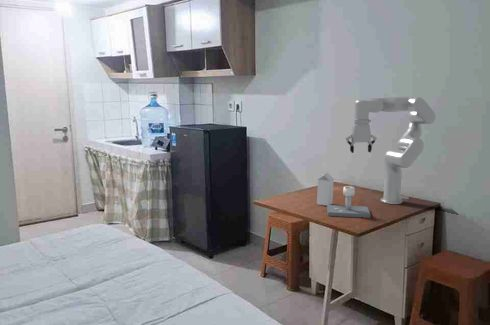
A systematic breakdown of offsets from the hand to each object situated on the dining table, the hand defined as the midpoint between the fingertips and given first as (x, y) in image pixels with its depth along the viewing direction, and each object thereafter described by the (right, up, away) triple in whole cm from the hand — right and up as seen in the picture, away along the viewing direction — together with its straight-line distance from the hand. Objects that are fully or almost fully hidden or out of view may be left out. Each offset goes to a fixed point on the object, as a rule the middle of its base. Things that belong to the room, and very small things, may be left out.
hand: (360, 152), depth 243 cm
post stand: (-9, -33, -9) cm, 36 cm away
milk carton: (-19, -30, +9) cm, 37 cm away
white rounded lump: (-9, -23, -11) cm, 27 cm away
